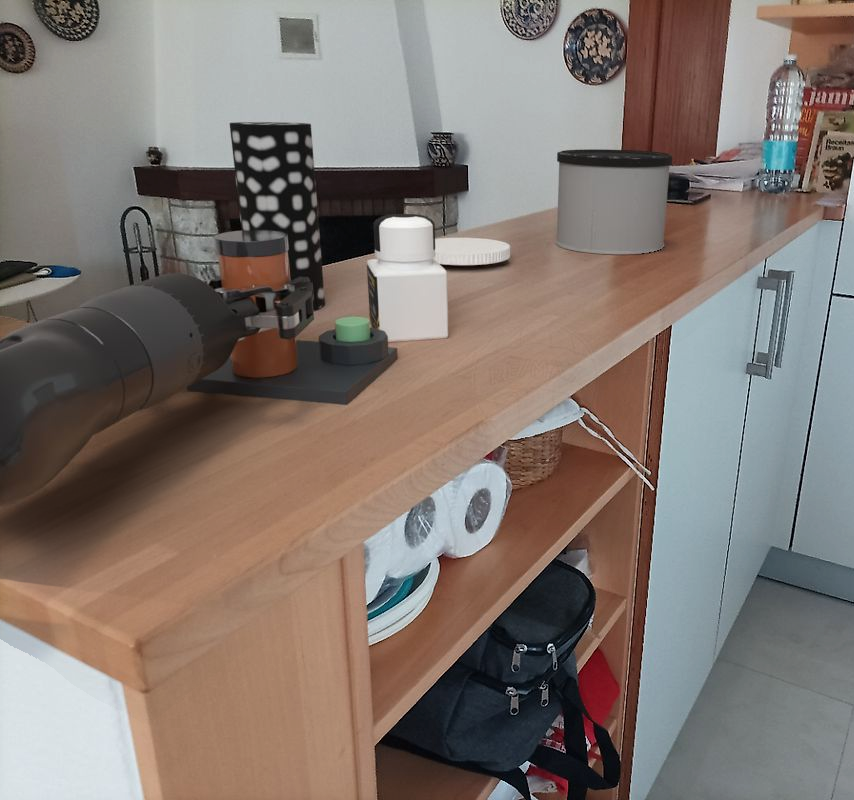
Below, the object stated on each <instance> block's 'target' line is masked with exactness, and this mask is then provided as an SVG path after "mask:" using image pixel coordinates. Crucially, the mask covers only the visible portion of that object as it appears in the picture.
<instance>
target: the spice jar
mask: <svg viewBox="0 0 854 800" xmlns="http://www.w3.org/2000/svg"><path fill="white" fill-rule="evenodd" d="M213 240H214V250H215V253H216V254H217V261H218V269H219V277H220V278H221V286H222V288H223V287H229V288H234V289H235V288H240V287H244V286H249V285H254V284H261V285H266V286H270V287H275V286H280V285H283V284H285V283H287V282H289V281H291V279H290V268H289V257H288V250H289V244H288V235H287V234H286V233H284V232H279V231H270V230H245V231H242V230H234V231H227V232H221V233H218V234H215V235H214V236H213ZM250 297H251V298H252V299H253V300H254V302H255V304H256V299H255V296H250ZM277 300H280V299H279V296H277V297H275V298H274V300H273V302H274V310H275V301H277ZM296 340H297V336H296V337H295V338H292V339H282V338H280V337H279V333H278V329H277V328H273V329H270V330H266V331H263V332H259V333H256V334H254V335H252V336H247V337H245V339H243V340H241V341H237V343H236V345H235V347H234V349H233V351H232V353H231V355H230V358H231V366H232V371H233V373H235V374H237V375H239V376H243V377H251V378H264V377H274V376H279V375H283V374H286V373H289V372H292V371H293V370H295V369H296V368H297V367H298V354H297V343H296Z"/></svg>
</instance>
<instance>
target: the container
mask: <svg viewBox="0 0 854 800" xmlns="http://www.w3.org/2000/svg"><path fill="white" fill-rule="evenodd" d="M556 153H557V154H556V162H557V163H558V185H557V186H558V187H557V188H558V189H557V190H558V191H557V192H558V193H557V222H556V224H557V226H556V239H555V244H556V245H557V247H560V248H562V249H565V250H569V251H574V252H579V253H585V254H586V253H587V254H595V255H596V254H597V255H617V256H619V255H621V256H624V255H625V256H626V255H627V256H628V255H642V253H644V254H650V253H649V252H651V253H655V252H654V251H656V252H658V251H657V250H659V251H661V250H660V249H662V248H663V247H664V248H665V240H664V239H665V231H666V230H665V229H666V217H667V216H666V215H667V204H668V203H667V202H668V191H669V190H668V189H669V181H670V178H669V177H670V167H671V165H673V157H674V155H672V154H670V153H667V152H658V151H648V150H631V149H601V148H599V149H597V148H596V149H594V148H592V149H566V150H560V151H557V152H556ZM664 248H663V249H664ZM663 249H662V250H663Z"/></svg>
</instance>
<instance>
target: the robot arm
mask: <svg viewBox="0 0 854 800" xmlns="http://www.w3.org/2000/svg"><path fill="white" fill-rule="evenodd" d="M250 296H255V299H256V304H255V302H254V300H253V299H252V298H251V297H250ZM277 296H279V299H280V300H277V301H275V310H274V302H273V300H274V298H275V297H277ZM313 300H314V294H313V283H311V282H310V279H309V278H308V277H298V278H296V279H294V280H291V281H289V282H287V283H285V284H283V285H280V286H275V287H270V286H266V285H261V284H254V285H249V286H244V287H240V288H235V289H234V288H229V287H223V288H222V286H221V278H220V276H218V277H214V278H212V279H208V278H207V279H206V278H198V277H196V276H194V275H190V274H186V273H181V272H180V273H179V272H170V273H163V274H161V275H157V276H154V277H151V278H148V279H145V280H143V281H140V282H136V283H134V284H131V285H128V286H125V287H121V288H119V289H115V290H113V291H109V292H106V293H104V294H100V295H98V296H95V297H93V298H91V299H89V300H87V301H86V302H84V303H82V304H80V305H78V306H77V307H74V308H72V309H70V310H67V311H64V312H61V313H58V314H56V315H51V316H50V317H46V318H43V319H40V320H38V321H35V322H32V323H30V324H27V325H25V326H22V327H20V328H17V329H16V330H14V331H12V332H10V333H8V334H7V335H5V336H3V337H2V338H1V339H0V510H2V509H4V508H7V507H9V506H12V505H14V504H16V503H19V502H20V501H23V500H24V499H27V498H28V497H30V496H32V495H34V494H35V493H37V492H38V491H40V490H41V489H43V488H44V487H45V486H47V485H48V484H49V483H51V482H52V481H53V480H54V479H55V478H56V477H57V476H58V475H59V474H60V473H61V472H62V471H63V470H64V469H65V468H66V467H67V465H69V464H70V462H72V460H73V459H75V457H76V456H77V455H78V454H79V453H80V452H81V451H82V450H83V449H84V448H85V447H86V445H87V444H88V443H89V441H91V439H92V438H93V436H96V435H97V434H100V433H101V432H103V431H105V430H106V429H108V428H111V427H112V426H113V425H115V424H117V423H119V422H120V421H122V420H124V419H126V418H128V417H131V415H133V414H136V413H137V412H140V411H143V410H146V409H149V408H151V407H154V406H157V405H159V404H160V403H163V402H165V401H166V400H168V399H170V398H172V397H173V396H175V395H177V394H178V393H180V392H182V391H183V390H185V389H187V387H189V386H191V385H192V384H194V383H196V382H197V381H199V380H201V379H203V378H204V377H206V376H208V375H210V374H211V373H213V372H215V371H216V370H218V369H219V368H221V367H222V366H223V365H224V364H225V363H226V361H227V360H228V359H229V357H230V355H231V353H232V351H233V349H234V347H235V345H236V343H237V341H241V340H243V339H245V337H247V336H252V335H254V334H256V333H259V332H263V331H266V330H270V329H273V328H277V329H278V333H279V337H280V338H282V339H292V338H295V337H296V338H297V337H298V336H299V335H300V334H301V333H302V332H303V331H304V330H305V329H306V328H307V327H308V326H309V325H310V324H311V323H312V322H313V321H314V320H315V313H314V312H315V310H314V311H313Z"/></svg>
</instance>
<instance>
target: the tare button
mask: <svg viewBox="0 0 854 800" xmlns="http://www.w3.org/2000/svg"><path fill="white" fill-rule="evenodd" d="M370 328H371V324H370V318H367V317H364V316H363V317H362V316H345V317H341V318H338V319H336V320H335V321H334V329H335V330H336V340H338V341H346V342H354V341H364V340H368V339H370Z"/></svg>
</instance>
